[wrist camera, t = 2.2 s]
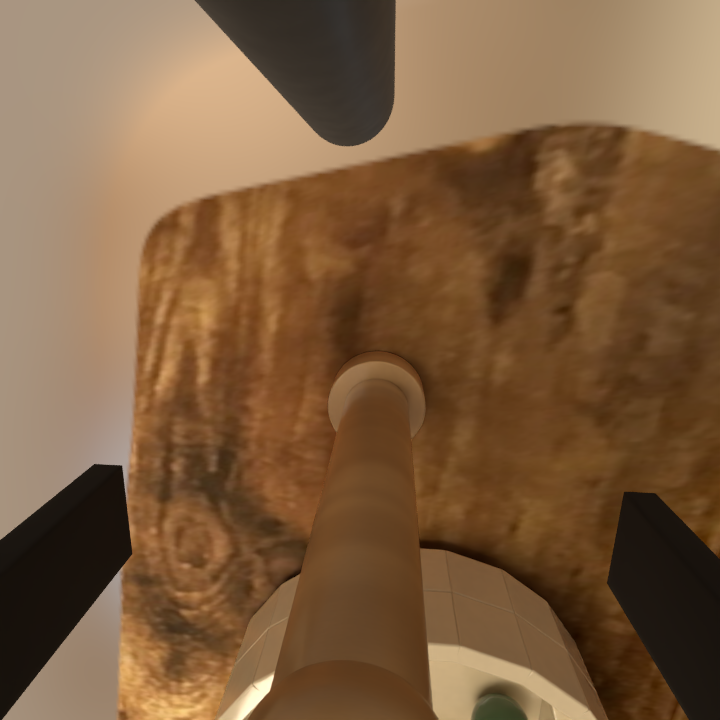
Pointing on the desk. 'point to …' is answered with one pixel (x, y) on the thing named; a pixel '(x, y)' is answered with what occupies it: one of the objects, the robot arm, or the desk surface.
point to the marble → (498, 708)
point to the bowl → (452, 646)
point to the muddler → (361, 564)
